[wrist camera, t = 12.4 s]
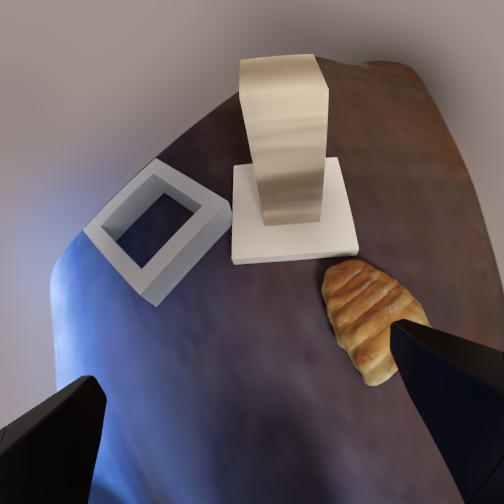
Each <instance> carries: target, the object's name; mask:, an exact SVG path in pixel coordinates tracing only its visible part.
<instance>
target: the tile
mask: <svg viewBox="0 0 504 504" xmlns="http://www.w3.org/2000/svg"><path fill="white" fill-rule="evenodd" d="M358 251H359V247H358V242H357V237H356V233H355V228H354V223H353V219H352V214H351V210H350V206H349V201H348V197H347V193H346V189H345V185H344V181H343V177H342V173H341V170H340V166H339V162H338V159H337V157H333V158H325V171H324V184H323V196H322V207H321V217H320V222H314V223H301V224H289V225H277V226H265V223H264V218H263V213H262V208H261V202H260V197H259V192H258V187H257V182H256V177H255V171H254V166H253V164H244V165H235V166H234V175H233V216H232V261H233V263H234V265H237V264H251V263H264V262H277V261H291V260H303V259H316V258H329V257H341V256H353V255H357V253H358Z"/></svg>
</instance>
